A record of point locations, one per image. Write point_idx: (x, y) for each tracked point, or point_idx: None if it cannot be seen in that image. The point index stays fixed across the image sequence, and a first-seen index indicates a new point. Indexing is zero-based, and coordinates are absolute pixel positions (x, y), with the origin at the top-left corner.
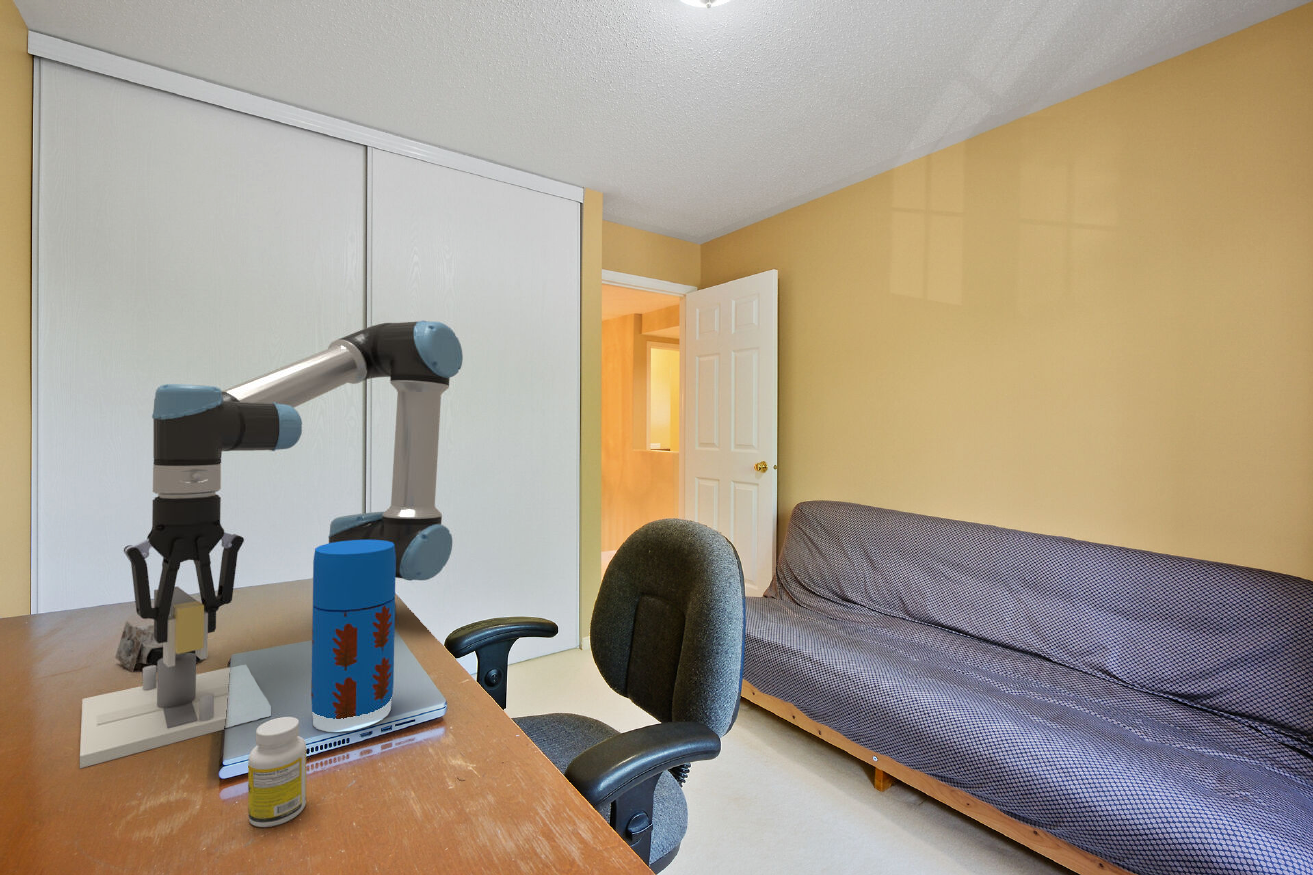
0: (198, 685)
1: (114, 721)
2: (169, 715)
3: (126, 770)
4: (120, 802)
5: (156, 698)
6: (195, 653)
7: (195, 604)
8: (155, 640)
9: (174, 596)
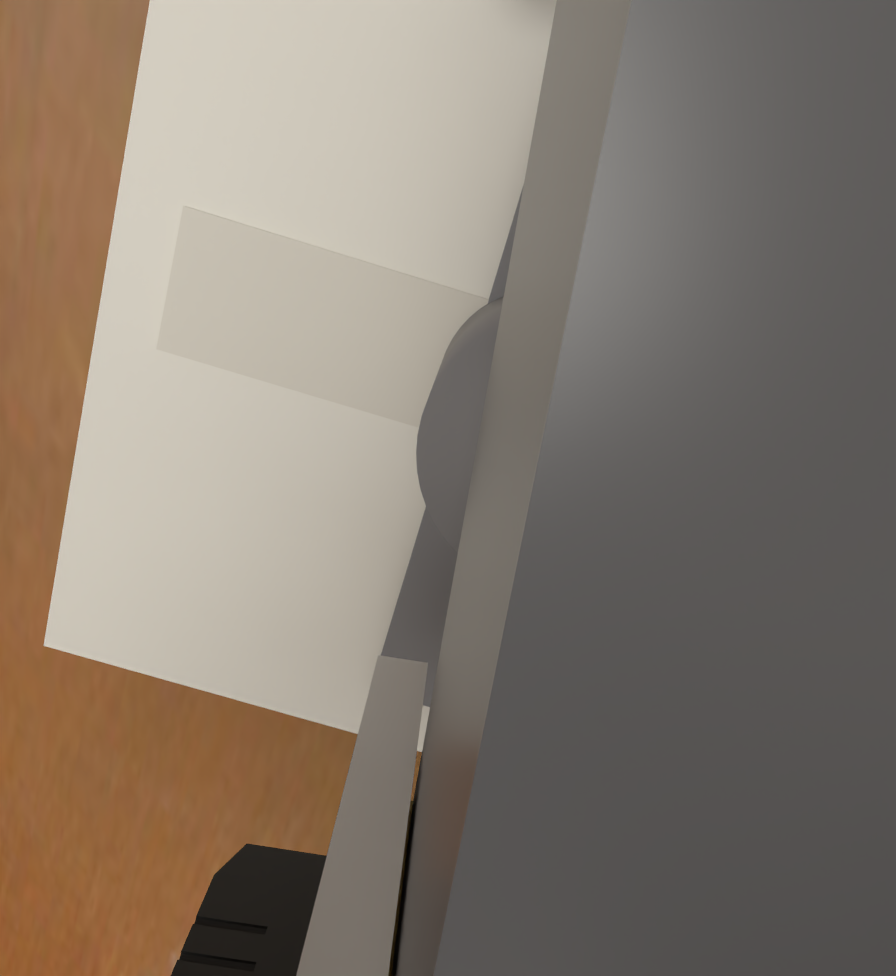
0: None
1: (233, 371)
2: (428, 563)
3: (190, 780)
4: (122, 966)
5: (493, 208)
6: None
7: None
8: (238, 858)
9: (788, 813)
